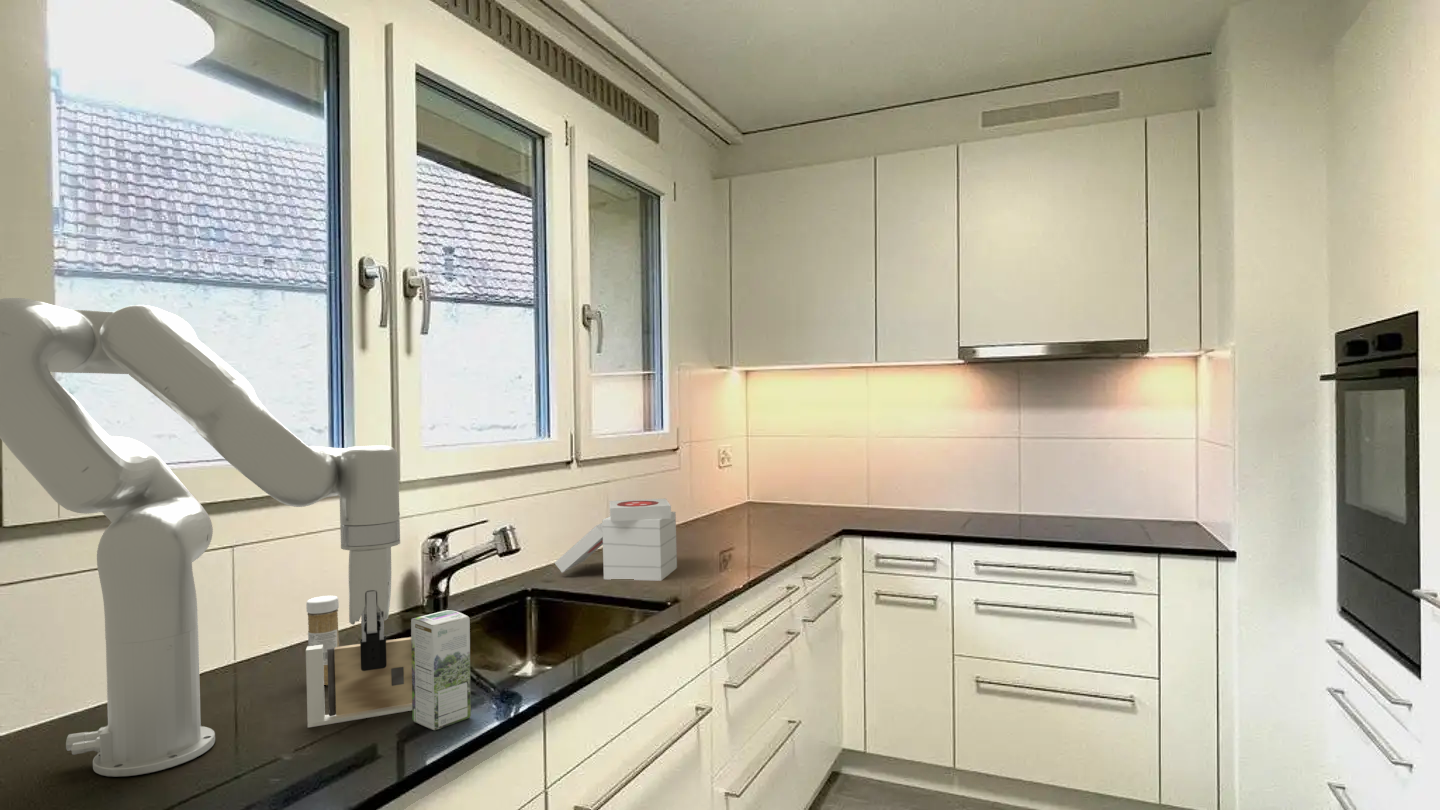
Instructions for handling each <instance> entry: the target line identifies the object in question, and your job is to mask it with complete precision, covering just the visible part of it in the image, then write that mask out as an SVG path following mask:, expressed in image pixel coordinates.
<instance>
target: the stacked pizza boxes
mask: <svg viewBox="0 0 1440 810" xmlns="http://www.w3.org/2000/svg"><path fill="white" fill-rule="evenodd" d="M676 513H677V512H676V511H672V505H671V504H670V502H669V501H668V500H667V498H648V499H647V498H646V499H625V500H623V499H622V500H609V516H608V517H605V518H603V519H601V521H602V522H601V523H599V524H596V525H595V526H594V527H593V528H592V529H590V530H589V531H588V532H587V533H586V534H585V535H584V536H582V538H580V539H579V541H577V542H576V543H575V544H574V545H573V546H572V547H571V548H569V549H568V550H567V551H566V552H565V553H564V554H562V555H561V557H559V558H557V560H556V561H554V564H555V566H556V567H557V569H559V571H560V572H561V573H564V572H567V571H568V570H570V569H572V568H574V567H576V566H577V565H579V564H581V563H583V562H585V561H586V560H587V559H588V558H589V557H591V555H592V554H594V553H595V552H596V551H597V550H598V549H600V548H601V546H602V556H603V557H602V562H603V563H602V564H603V580H611V579H634V580H633V581H658V582H659V581H663V580H665V578H667V577H668V576H669V575H671V573H673V572H674V571H676V569H677V568H678V560H677V559H678V557H677V556H678V555H677V522H676V519H677V517H676Z"/></svg>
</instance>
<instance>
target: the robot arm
mask: <svg viewBox="0 0 1440 810" xmlns="http://www.w3.org/2000/svg"><path fill="white" fill-rule="evenodd" d="M52 373H62V374H65V373H66V374H67V373H68V374H109V375H110V374H114V375H129V376H130V377H131V378H133V379H134V381H136V382H137V383H139V384H140V385H141V386H143V388H145V389H146V390H148V391H149V392H150V393H151V394H152V395H154V396H155V397H156V398H157V399H159V401H161V402H163V403H164V404H165V405H166V406H168V407H169V408H170V409H171V410H172V411H174V412H175V413H176V414H177V415H178V416H180V417H181V418H182V419H184V420H185V421H186V422H187V423H188V424H189V425H191V426H192V428H194V429H195V431H196V432H197V433H198V435H199V436H201V438H203V439H204V440H205V441H206V442H207V443H208V444H209V445H210V446H211V447H213V449H214V450H215V451H216V452H217V453H218V454H219V455H220V456H222V458H223V459H225V460H226V462H228V463H229V464H230V465H231V466H232V467H233V468H234V469H236V471H238V472H239V473H240V474H242V475H243V476H244V477H245V478H247V479H248V480H250V481H251V483H253V484H254V485H256V486H257V487H258V488H259V489H260V490H262V491H263V492H265V493H266V494H267V495H268V496H269V497H271V498H272V499H274V500H276V501H277V502H279V503H280V504H284V505H286V506H289V507H294V508H303V507H308V506H312V505H314V504H316V503H318V502H319V501H321V500H323V499H325V498H331V497H337V496H339V525H340V529H339V530H340V532H339V533H340V550H343V551H349V553H348V609H349V611H348V619H349V620H348V623H349V624H351V625H352V626H353V625H355V624H356V623H357V622H360V620H361V623H360V624H361V639H360V642H359V644H360V649H361V670H362V671H368V670H375V669H382V668H385V667H386V640H387V636H386V635H385V624H384V623H385V621H386V620H387V619H389V613H390V606H391V595H392V547H396V546H399V545H400V544H401V530H400V529H401V526H400V525H401V522H400V516H401V515H400V483H399V482H400V479H399V477H400V476H399V455H398V452H397V450H396V449H395V448H394V447H392V446H390V445H359V446H356V445H355V446H349V447H347V448H346V447H345V448H344V447H327V446H317V445H307V444H306V443H305V442H304V441H303V440H301V439H300V438H299V437H298V436H297V435H295V434H294V433H292V431H291V430H289V428H287V427H286V426H285V425H284V424H282V423H281V422H280V421H279V420H278V419H277V418H275V416H274V415H273V414H272V413H270V412H269V410H268V409H267V408H266V407H265V405H263V404H262V402H261V400H259V398H258V396H257V394H256V392H255V389H254V387H253V386H252V385H251V383H250V381H248V380H247V379H246V378H245V377H244V376H243V375H242V374H241V373H239V372H238V371H237V370H236V369H234V368H233V367H232V366H231V365H230V364H229V363H227V362H226V361H225V360H223V358H221V357H220V356H219V355H217V354H216V353H215V352H214V351H212V349H210V348H209V347H208V346H207V345H206V344H204V343H203V342H202V341H201V340H200V339H199V338H198V336H197V334H196V331H195V330H194V329H193V327H192V326H191V325H190V324H189V323H188V322H187V321H186V320H184V319H183V318H181V317H180V316H178V315H176V314H174V313H172V312H168V311H166V310H163V309H161V308H159V307H155V306H151V305H147V304H146V305H145V304H134V305H128V306H124V307H122V308H120V309H118V310H114V311H101V310H87V309H85V310H83V309H70V308H65V307H61V306H58V305H54V304H52V303H51V304H50V303H47V302H45V301H39V300H35V299H30V298H22V297H4V298H0V440H1V442H3V443H4V444H5V446H6V447H7V448H8V450H9V451H10V452H11V453H12V454H13V455H14V456H15V458H16V459H17V460H18V461H19V462H20V464H22V465H23V466H24V468H25V469H26V470H27V472H29V473H30V474H31V476H33V478H34V479H35V480H36V481H37V482H38V483H39V485H41V487H42V488H43V489H44V490H45V491H46V492H47V494H48V495H49V496H50V497H51V499H53V500H54V502H56V503H57V505H59V506H60V507H62V508H64V509H65V510H67V511H70V512H73V513H77V514H85V515H86V514H96V513H103V515H104V516H105V517H106V518H107V519H108V520H109V521H110V523H109V525H108V526H107V528H106V529H105V530H104V532H103V533H102V534H101V536H100V540H99V542H98V545H97V546H98V547H97V551H96V566H97V573H98V576H99V577H98V578H99V583H100V588H101V593H102V600H103V601H102V602H103V609H104V612H103V613H104V627H105V628H104V631H105V633H104V636H105V638H104V639H105V654H106V655H105V658H106V659H105V660H106V663H105V664H106V694H107V695H106V697H107V701H106V702H107V725H105V726H101V727H100V728H99V729H98V730H95V731H84V732H77V733H76V732H75V733H69V734H68V735H67V737H66V742H65V749H66V751H71V755H74V756H75V755H78V754H86V753H88V752H89V753H90V752H93V751H94V752H95V753H97V754H96V755H95V756H94V757H93V759H92V770H93V772H94V773H96V774H98V775H100V776H105V777H115V778H116V777H117V778H118V777H119V778H120V777H132V776H133V777H134V776H139V775H145V774H146V775H147V774H150V773H155V772H160V771H162V770H167V769H170V768H174V767H176V766H180V765H182V764H184V763H187V762H189V761H192V760H194V759H196V758H197V757H199V756H201V755H204V754H205V753H207V752H208V751H209V750H211V748H212V747H213V746H214V745H215V742H216V732H215V730H214V729H212V728H210V727H207V726H204V725H203V726H202V725H201V723H202V722H201V718H202V717H201V686H200V654H199V653H200V650H199V649H200V648H199V647H200V646H199V623H198V621H199V620H198V619H199V617H198V616H199V615H198V599H197V590H196V585H195V578H194V573H193V563H194V562H195V561H196V560H198V559H199V558H200V557H201V556H203V554H204V553H205V552H206V551H207V550H208V548H209V546H210V544H211V542H212V539H213V532H214V531H213V530H214V529H213V527H214V526H213V523H212V520H211V517H210V515H209V513H208V512H207V511H206V509H205V508H204V507H203V505H202V504H201V503H200V502H199V500H198V499H197V498H196V497H195V496H194V494H192V492H191V491H190V490H189V489H188V488H187V487H186V485H185V484H184V483H183V482H182V481H181V480H180V478H179V477H178V476H177V475H176V474H175V473H174V472H173V471H172V469H171V468H170V467H169V466H168V464H166V462H165V461H164V460H163V459H162V458H161V457H160V455H159V454H157V453H156V452H155V451H154V450H153V449H151V448H150V447H149V446H147V445H146V444H144V443H143V442H142V441H139V440H137V439H134V438H131V437H128V436H121V435H110V434H108V432H106V430H105V429H103V428H102V427H101V426H100V425H99V423H97V422H96V420H95V419H94V418H93V417H92V416H91V415H90V414H89V413H88V412H87V411H86V409H85V408H84V406H83V405H82V404H81V403H80V402H79V400H78V399H76V398H75V396H74V395H72V393H71V392H69V391H68V390H67V389H66V388H64V386H62V385H61V384H60V383H59V382H58V381H57V380H56V379H55V378H54V376H53V375H52Z"/></svg>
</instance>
